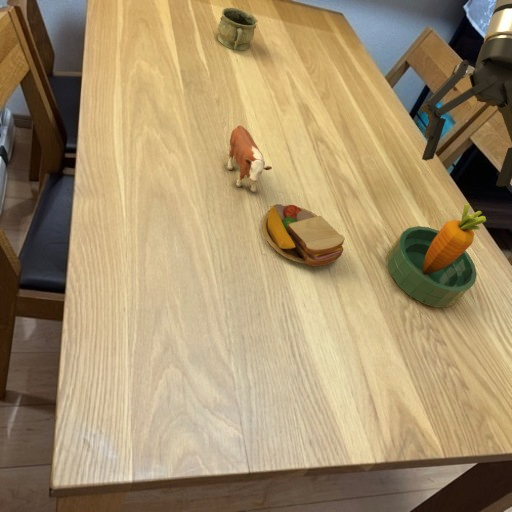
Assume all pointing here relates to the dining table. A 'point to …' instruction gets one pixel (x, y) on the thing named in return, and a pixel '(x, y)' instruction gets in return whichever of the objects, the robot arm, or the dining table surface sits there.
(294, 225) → the toy sandwich meal
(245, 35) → the vessel
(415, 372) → the dining table surface
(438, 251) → the carrot
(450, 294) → the bowl
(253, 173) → the bull figurine
